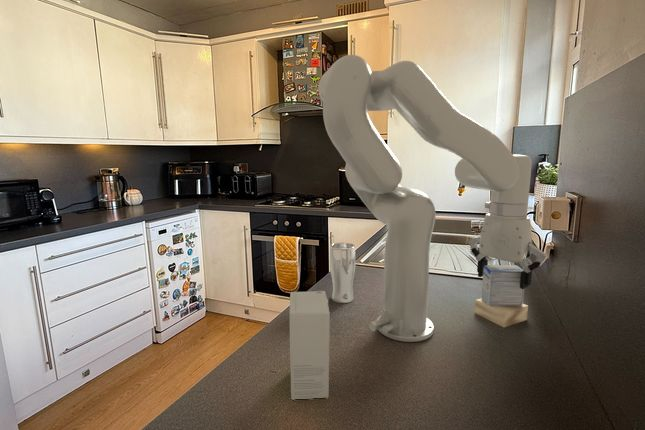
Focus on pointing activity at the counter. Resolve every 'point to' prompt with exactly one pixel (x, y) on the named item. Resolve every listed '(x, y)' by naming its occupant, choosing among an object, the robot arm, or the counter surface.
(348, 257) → the beer glass
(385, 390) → the counter surface
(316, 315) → the skincare box
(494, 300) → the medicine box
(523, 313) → the oak block
